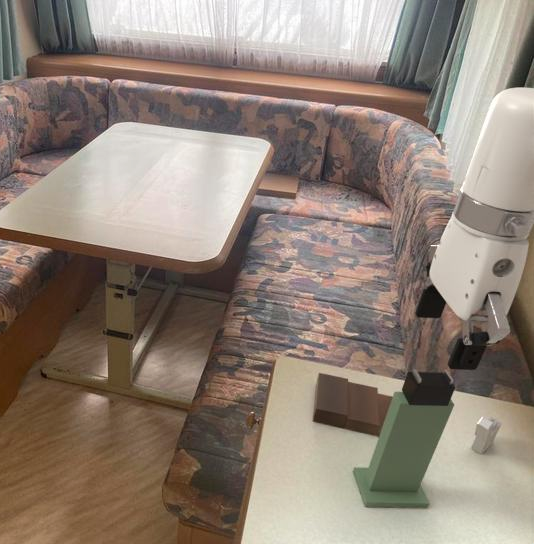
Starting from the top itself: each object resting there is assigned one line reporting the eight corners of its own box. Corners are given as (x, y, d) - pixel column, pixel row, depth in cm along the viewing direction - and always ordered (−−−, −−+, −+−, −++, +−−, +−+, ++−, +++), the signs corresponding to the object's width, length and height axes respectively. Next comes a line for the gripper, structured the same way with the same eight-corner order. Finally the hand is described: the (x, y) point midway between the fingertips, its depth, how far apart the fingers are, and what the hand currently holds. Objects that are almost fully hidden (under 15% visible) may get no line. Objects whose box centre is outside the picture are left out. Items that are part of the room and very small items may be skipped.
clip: (447, 406, 73) (457, 382, 71) (409, 405, 73) (417, 381, 70) (438, 390, 75) (448, 367, 73) (401, 389, 75) (409, 366, 73)
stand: (427, 507, 81) (469, 416, 71) (364, 506, 81) (398, 414, 71) (411, 472, 86) (448, 382, 77) (352, 471, 86) (382, 381, 76)
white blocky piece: (482, 435, 93) (499, 399, 89) (492, 442, 92) (511, 405, 88) (461, 457, 89) (478, 420, 85) (472, 464, 88) (490, 427, 84)
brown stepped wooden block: (404, 404, 98) (409, 391, 97) (408, 443, 91) (413, 430, 89) (315, 385, 101) (318, 372, 100) (312, 421, 94) (316, 408, 92)
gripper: (579, 255, 53) (510, 392, 62) (488, 181, 68) (443, 301, 77) (500, 252, 53) (442, 390, 62) (426, 178, 67) (388, 298, 76)
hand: (443, 340), depth 69 cm, fingers open, 9 cm apart
